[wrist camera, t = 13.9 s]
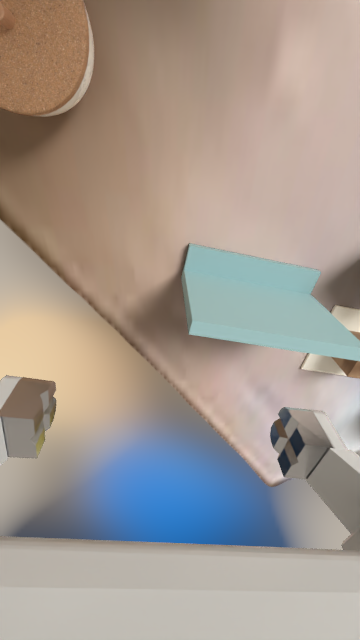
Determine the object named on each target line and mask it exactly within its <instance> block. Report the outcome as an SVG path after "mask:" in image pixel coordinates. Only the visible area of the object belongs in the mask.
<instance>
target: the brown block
mask: <svg viewBox="0 0 360 640" xmlns="http://www.w3.org/2000/svg"><path fill="white" fill-rule="evenodd" d="M350 332H351V333H352V334H353V335H354V336H355V337H356V338H357V339H358V340H359V341H360V332H355V331H350ZM332 358H333V360H334V361H335V362H336V363H337V365H338V366H339V367H340V368H341V369H342V371H343V372H344V373H345V374H346V375H347V377H354V378H360V361H355V360H348V359H342V358H336V357H332Z"/></svg>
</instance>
